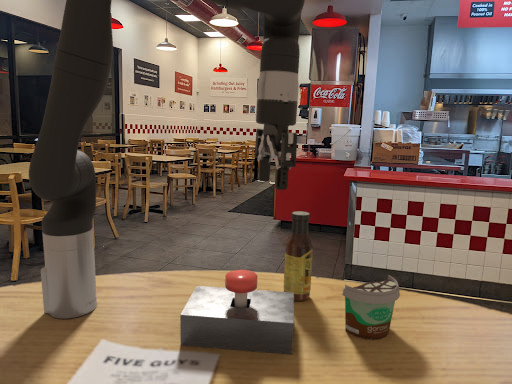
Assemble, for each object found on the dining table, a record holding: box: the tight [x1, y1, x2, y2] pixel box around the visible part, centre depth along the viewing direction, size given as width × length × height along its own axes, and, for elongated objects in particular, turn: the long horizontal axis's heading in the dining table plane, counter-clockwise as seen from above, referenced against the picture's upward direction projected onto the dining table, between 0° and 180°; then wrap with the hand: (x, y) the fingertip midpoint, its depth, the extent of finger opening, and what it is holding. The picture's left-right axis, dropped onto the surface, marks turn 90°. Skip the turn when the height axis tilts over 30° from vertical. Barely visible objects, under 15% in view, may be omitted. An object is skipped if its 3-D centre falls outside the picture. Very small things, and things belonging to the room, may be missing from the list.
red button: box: [224, 269, 258, 308], centre depth 73 cm, size 6×6×7 cm
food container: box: [342, 274, 401, 341], centre depth 75 cm, size 12×6×10 cm, turn 117°
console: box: [179, 285, 295, 355], centre depth 74 cm, size 20×12×6 cm, turn 85°
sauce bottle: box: [283, 211, 314, 302], centre depth 89 cm, size 7×6×20 cm
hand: (271, 185), depth 75 cm, fingers open, 8 cm apart
